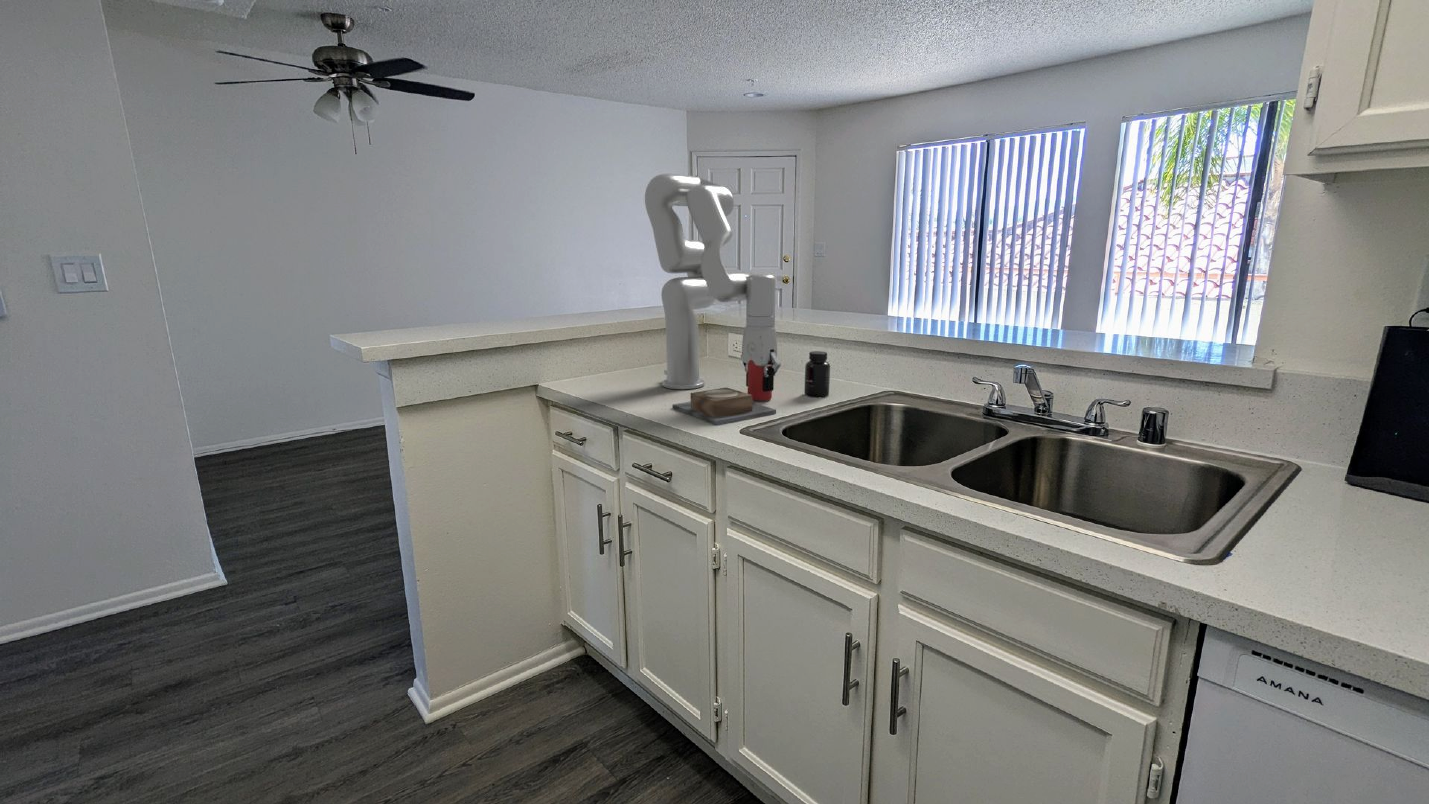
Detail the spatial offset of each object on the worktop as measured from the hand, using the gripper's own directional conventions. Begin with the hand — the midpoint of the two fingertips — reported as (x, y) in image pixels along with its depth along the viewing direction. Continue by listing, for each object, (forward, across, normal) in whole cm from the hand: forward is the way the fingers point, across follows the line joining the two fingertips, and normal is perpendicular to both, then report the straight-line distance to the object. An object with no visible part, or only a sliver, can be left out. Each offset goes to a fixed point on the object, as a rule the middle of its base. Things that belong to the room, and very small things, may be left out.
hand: (759, 387), depth 180 cm
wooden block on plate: (+3, +4, -15) cm, 16 cm away
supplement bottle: (+3, +5, +16) cm, 17 cm away
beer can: (+3, 0, 0) cm, 3 cm away
